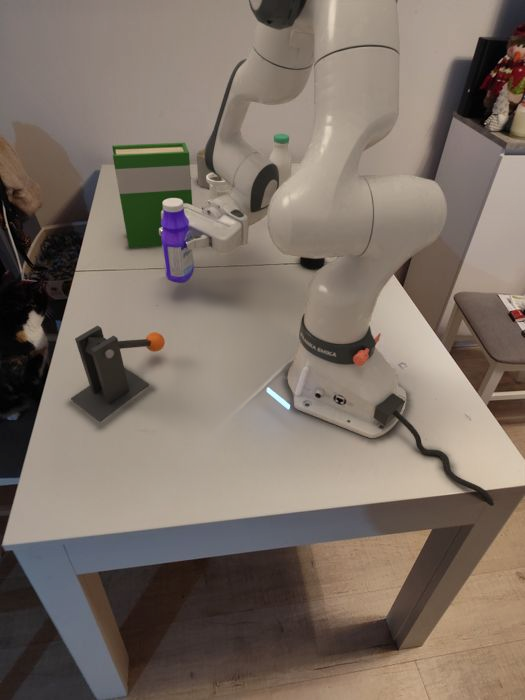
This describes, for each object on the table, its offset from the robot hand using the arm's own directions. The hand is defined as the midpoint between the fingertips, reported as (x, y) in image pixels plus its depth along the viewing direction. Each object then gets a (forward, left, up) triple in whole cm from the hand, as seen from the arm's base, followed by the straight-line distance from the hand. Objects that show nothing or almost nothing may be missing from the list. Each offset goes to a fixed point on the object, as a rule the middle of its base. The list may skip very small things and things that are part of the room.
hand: (173, 239), depth 93 cm
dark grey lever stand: (-12, +29, -15) cm, 35 cm away
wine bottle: (-15, -34, -15) cm, 40 cm away
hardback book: (+24, -17, -15) cm, 33 cm away
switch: (-12, +24, -8) cm, 28 cm away
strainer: (+18, -35, -15) cm, 42 cm away
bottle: (0, -1, -10) cm, 10 cm away
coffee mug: (+39, -55, -15) cm, 69 cm away
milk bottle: (+15, -60, -15) cm, 64 cm away
